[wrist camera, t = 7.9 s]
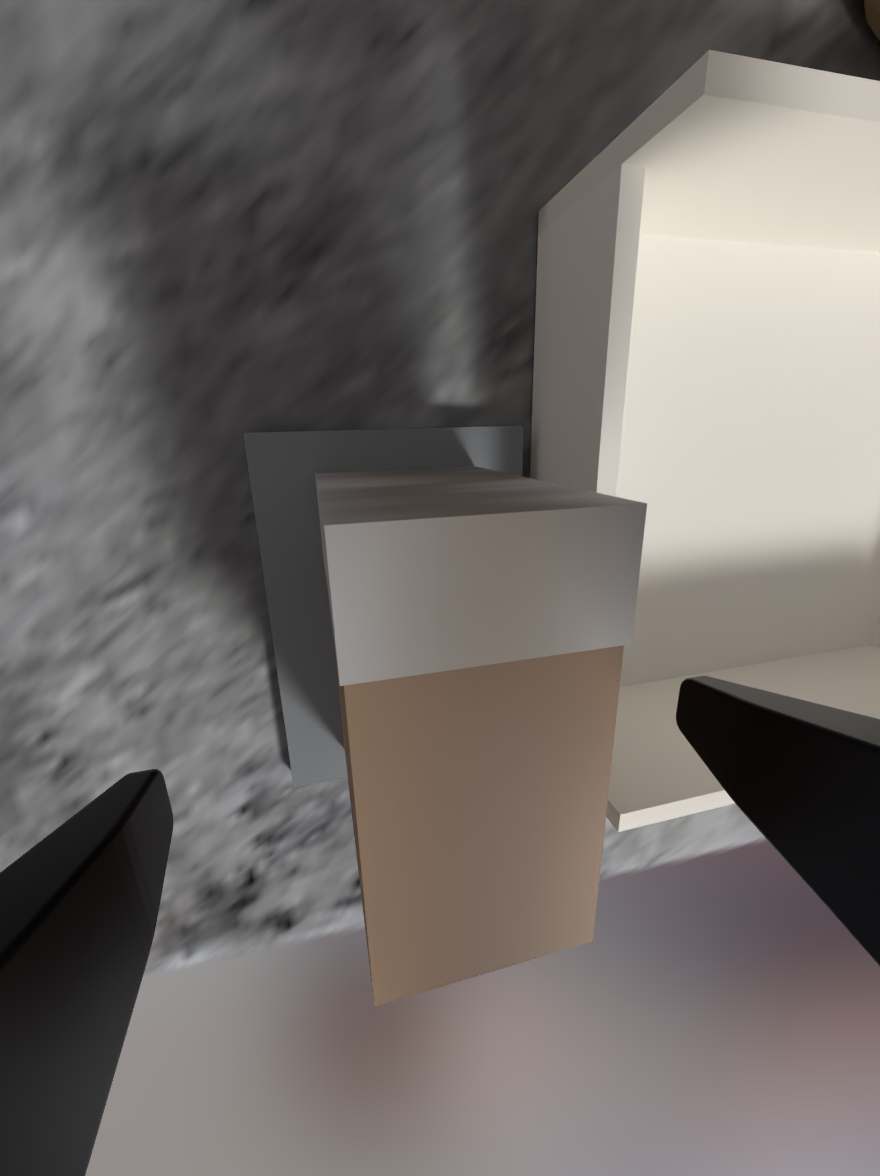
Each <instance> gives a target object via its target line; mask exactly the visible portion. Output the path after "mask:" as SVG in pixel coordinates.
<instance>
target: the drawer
mask: <svg viewBox="0 0 880 1176" xmlns="http://www.w3.org/2000/svg"><path fill="white" fill-rule="evenodd" d="M530 478H532V479H536V480H541V481H546V482H550V483H555V484H559V485H564V486H569V487H573V488H578V489H583V490H587V491H592V492H596V493H601V494H606V495H610V496H615V497H620V498H624V499H629V500H633V501H638V502H643V503H647V510H646V519H645V528H644V537H643V546H642V555H641V564H640V573H639V582H638V591H637V600H636V609H635V618H634V627H633V636H632V644H629V645H624V650H623V659H622V669H621V678H620V688H619V697H618V707H617V716H616V725H615V735H614V744H613V754H612V763H611V773H610V782H609V792H608V801H607V811H606V817H607V818H608V819H609V821H610V822H611V823H612V824H613V826H614V827H615V828H616V830H617V831H618V832H620V831H624V830H628V829H633V828H637V827H641V826H645V825H649V824H653V823H657V822H661V821H665V820H669V819H673V818H677V817H681V816H686V815H690V814H694V813H698V812H702V811H706V810H710V809H714V808H718V807H722V806H726V805H730V804H735V802H734V801H733V800H732V799H731V798H730V796H729V795H728V794H727V792H726V791H725V790H724V789H723V787H722V786H721V785H720V783H719V782H718V781H717V779H716V778H715V777H714V775H713V774H712V773H711V771H710V770H709V769H708V767H707V766H706V765H705V763H704V762H703V761H702V759H701V758H700V757H699V755H698V754H697V753H696V751H695V750H694V749H693V747H692V746H691V745H690V743H689V742H688V741H687V739H686V738H685V737H684V735H683V734H682V733H681V731H680V730H679V728H678V726H677V723H676V710H677V703H678V696H679V690H680V685H681V683H682V681H683V680H685V679H687V678H692V677H697V676H709V677H713V678H717V679H721V680H725V681H729V682H733V683H737V684H741V685H745V686H749V687H753V688H757V689H761V690H765V691H769V692H773V693H777V694H781V695H785V696H789V697H793V698H797V699H801V700H805V701H809V702H813V703H817V704H821V705H825V706H829V707H833V708H837V709H841V710H845V711H849V712H853V713H857V714H861V715H865V716H869V717H873V718H877V719H880V81H876V80H871V79H865V78H860V77H855V76H849V75H844V74H838V73H833V72H828V71H822V70H817V69H811V68H806V67H800V66H795V65H790V64H784V63H779V62H773V61H768V60H762V59H757V58H752V57H746V56H741V55H735V54H730V53H725V52H719V51H714V50H708V51H707V52H706V53H705V54H704V55H703V56H702V57H701V58H700V59H699V60H698V61H697V62H695V63H694V64H693V65H692V66H691V67H690V68H689V69H688V70H687V71H686V72H685V73H684V74H683V75H682V76H681V77H680V78H679V79H678V80H676V81H675V82H674V83H673V84H672V85H671V86H670V87H669V88H668V89H667V90H666V91H665V92H664V93H663V94H662V95H661V96H660V97H659V98H657V99H656V100H655V101H654V102H653V103H652V104H651V105H650V106H649V107H648V108H647V109H646V110H645V111H644V112H643V113H642V114H641V115H640V116H638V117H637V118H636V119H635V120H634V121H633V122H632V123H631V124H630V125H629V126H628V127H627V128H626V129H625V130H624V131H623V132H622V133H621V134H619V135H618V136H617V137H616V138H615V139H614V140H613V141H612V142H611V143H610V144H609V145H608V146H607V147H606V148H605V149H604V150H603V151H602V152H600V153H599V154H598V155H597V156H596V157H595V158H594V159H593V160H592V161H591V162H590V163H589V164H588V165H587V166H586V167H585V168H584V169H583V170H581V171H580V172H579V173H578V174H577V175H576V176H575V177H574V178H573V179H572V180H571V181H570V182H569V183H568V184H567V185H566V186H565V187H564V188H562V189H561V190H560V191H559V192H558V193H557V194H556V195H555V196H554V197H553V198H552V199H551V200H550V201H549V202H548V203H547V204H546V205H544V206H543V207H542V208H541V209H540V210H539V223H538V252H537V282H536V312H535V341H534V371H533V400H532V430H531V459H530Z"/></svg>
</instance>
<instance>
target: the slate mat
mask: <svg viewBox="0 0 880 1176" xmlns="http://www.w3.org/2000/svg"><path fill="white" fill-rule="evenodd" d="M523 436H524V426H486V427H446V428H407V429H367V430H328V431H288V432H249V433H243V439H244V446H245V453H246V460H247V466H248V473H249V480H250V487H251V494H252V501H253V508H254V515H255V522H256V529H257V536H258V543H259V550H260V557H261V564H262V571H263V578H264V584H265V591H266V598H267V605H268V612H269V619H270V626H271V633H272V640H273V647H274V654H275V661H276V668H277V675H278V682H279V689H280V696H281V702H282V709H283V716H284V723H285V730H286V737H287V744H288V751H289V758H290V765H291V772H292V779H293V786H294V787H300V786H305V785H310V784H315V783H321V782H326V781H331V780H337V779H342V778H347V777H348V775H347V766H346V758H345V749H344V739H343V729H342V719H341V709H340V699H339V689H338V679H337V669H336V659H335V649H334V639H333V629H332V620H331V612H330V604H329V596H328V589H327V581H326V573H325V565H324V557H323V548H322V538H321V528H320V518H319V508H318V499H317V489H316V479H315V473H328V472H351V471H374V470H397V469H419V468H442V467H465V466H476V467H481V468H485V469H490V470H495V471H499V472H504V473H509V474H513V475H518V476H522V470H523Z"/></svg>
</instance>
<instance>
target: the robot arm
mask: <svg viewBox="0 0 880 1176" xmlns="http://www.w3.org/2000/svg"><path fill="white" fill-rule="evenodd" d="M676 723H677V726H678V728H679V730H680V731H681V733H682V734H683V735H684V737H685V738H686V739H687V741H688V742H689V743H690V745H691V746H692V747H693V749H694V750H695V751H696V753H697V754H698V755H699V757H700V758H701V759H702V761H703V762H704V763H705V765H706V766H707V767H708V769H709V770H710V771H711V773H712V774H713V775H714V777H715V778H716V779H717V781H718V782H719V783H720V785H721V786H722V787H723V789H724V790H725V791H726V792H727V794H728V795H729V796H730V798H731V799H732V800H733V801H734V802H735V803H736V805H737V806H738V807H739V808H740V809H741V810H742V812H743V813H744V814H745V815H746V816H747V817H748V818H749V819H750V821H751V822H752V823H753V824H754V825H755V826H756V827H757V828H758V830H759V831H760V832H761V833H762V834H763V835H764V836H765V838H766V839H767V840H768V841H769V842H770V843H771V844H772V845H773V847H775V849H776V850H777V851H778V852H779V853H780V854H781V855H782V856H783V858H784V859H785V860H786V861H787V862H788V863H789V865H790V866H791V867H792V868H793V869H794V870H795V871H796V872H797V873H798V874H799V876H800V877H801V878H802V879H803V880H804V881H805V883H806V884H807V885H808V886H809V887H810V888H811V889H812V890H813V892H814V893H815V894H816V895H817V896H818V897H819V898H820V899H821V901H823V903H824V904H825V905H826V906H827V907H828V908H829V910H830V911H831V912H832V913H833V914H834V915H835V916H836V917H837V918H838V920H839V921H840V922H841V923H842V924H843V925H844V926H845V928H846V929H847V930H848V931H849V932H850V933H851V934H852V935H853V937H854V938H855V939H856V940H857V941H858V942H859V943H860V944H861V945H862V947H863V948H864V949H865V950H866V951H867V952H868V953H869V954H870V956H871V957H872V958H873V959H874V960H875V961H876V962H877V964H878V965H879V966H880V719H877V718H873V717H869V716H865V715H861V714H857V713H853V712H849V711H845V710H841V709H837V708H833V707H829V706H825V705H821V704H817V703H813V702H809V701H805V700H801V699H797V698H793V697H789V696H785V695H781V694H777V693H773V692H769V691H765V690H761V689H757V688H753V687H749V686H745V685H741V684H737V683H733V682H729V681H725V680H721V679H717V678H713V677H709V676H697V677H692V678H687V679H685V680H683V681H682V683H681V685H680V690H679V696H678V703H677V710H676ZM172 831H173V813H172V809H171V805H170V801H169V797H168V793H167V789H166V784H165V780H164V777H163V775H162V773H161V771H159V770H157V769H152V770H146V771H140V772H134V773H129V774H127V775H126V776H124V777H123V778H121V779H120V780H119V781H118V782H116V783H115V784H114V785H112V786H111V787H110V788H109V789H107V790H106V791H105V792H103V793H102V794H101V795H100V796H98V797H97V798H96V799H94V800H93V801H92V802H91V803H89V804H88V805H87V806H85V807H84V808H83V809H82V810H80V811H79V812H78V813H76V814H75V815H74V816H73V817H71V818H70V819H69V820H67V821H66V822H65V823H64V824H62V825H61V826H60V827H58V828H57V829H56V830H55V831H53V832H52V833H51V834H49V835H48V836H47V837H46V838H44V839H43V840H42V841H40V842H39V843H38V844H37V845H35V846H34V847H33V848H31V849H30V850H29V851H28V852H26V853H25V854H24V855H22V856H21V857H20V858H19V859H17V860H16V861H15V862H13V863H12V864H11V865H10V866H8V867H7V868H6V869H4V870H3V871H2V872H1V873H0V1176H85V1174H86V1171H87V1167H88V1164H89V1161H90V1157H91V1154H92V1150H93V1147H94V1143H95V1140H96V1136H97V1133H98V1129H99V1126H100V1122H101V1119H102V1116H103V1112H104V1109H105V1105H106V1101H107V1098H108V1095H109V1091H110V1088H111V1085H112V1081H113V1078H114V1074H115V1071H116V1067H117V1064H118V1060H119V1057H120V1053H121V1050H122V1046H123V1043H124V1039H125V1036H126V1033H127V1029H128V1026H129V1022H130V1019H131V1015H132V1012H133V1008H134V1004H135V1001H136V998H137V994H138V991H139V988H140V984H141V981H142V977H143V974H144V970H145V967H146V964H147V960H148V956H149V953H150V949H151V945H152V941H153V937H154V932H155V927H156V922H157V917H158V911H159V905H160V900H161V894H162V888H163V883H164V877H165V871H166V866H167V860H168V854H169V849H170V843H171V837H172Z"/></svg>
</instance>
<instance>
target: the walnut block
mask: <svg viewBox="0 0 880 1176" xmlns="http://www.w3.org/2000/svg"><path fill="white" fill-rule="evenodd" d="M315 479H316V489H317V499H318V508H319V518H320V528H321V538H322V548H323V557H324V565H325V573H326V581H327V589H328V596H329V604H330V612H331V620H332V629H333V639H334V649H335V659H336V669H337V679H338V689H339V699H340V709H341V719H342V729H343V739H344V749H345V758H346V766H347V775H348V784H349V792H350V801H351V809H352V818H353V827H354V835H355V844H356V852H357V861H358V870H359V878H360V887H361V896H362V904H363V913H364V921H365V930H366V938H367V947H368V954H369V955H368V956H369V964H370V973H371V982H372V990H373V999H374V1006H378V1005H381V1004H385V1003H388V1002H392V1001H395V1000H398V999H401V998H405V997H408V996H412V995H415V994H418V993H422V992H425V991H428V990H432V989H435V988H438V987H442V986H445V985H449V984H452V983H455V982H459V981H462V980H465V979H468V978H472V977H475V976H478V975H482V974H485V973H489V972H492V971H495V970H499V969H502V968H505V967H509V966H512V965H515V964H519V963H522V962H525V961H529V960H532V959H536V958H539V957H542V956H546V955H548V954H552V953H555V952H559V951H562V950H566V949H569V948H572V947H576V946H579V945H582V944H586V943H589V942H592V941H593V933H594V924H595V914H596V905H597V896H598V886H599V877H600V867H601V858H602V848H603V839H604V829H605V820H606V811H607V801H608V792H609V782H610V773H611V763H612V754H613V744H614V735H615V725H616V716H617V707H618V697H619V688H620V678H621V669H622V659H623V650H624V645H629V644H632V636H633V627H634V618H635V609H636V600H637V591H638V582H639V573H640V564H641V555H642V546H643V537H644V528H645V519H646V510H647V503H643V502H638V501H633V500H629V499H624V498H620V497H615V496H610V495H606V494H601V493H596V492H592V491H587V490H583V489H578V488H573V487H569V486H564V485H559V484H555V483H550V482H546V481H541V480H536V479H532V478H527V477H522V476H518V475H513V474H509V473H504V472H499V471H495V470H490V469H485V468H481V467H476V466H465V467H442V468H419V469H397V470H374V471H351V472H328V473H315Z"/></svg>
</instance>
